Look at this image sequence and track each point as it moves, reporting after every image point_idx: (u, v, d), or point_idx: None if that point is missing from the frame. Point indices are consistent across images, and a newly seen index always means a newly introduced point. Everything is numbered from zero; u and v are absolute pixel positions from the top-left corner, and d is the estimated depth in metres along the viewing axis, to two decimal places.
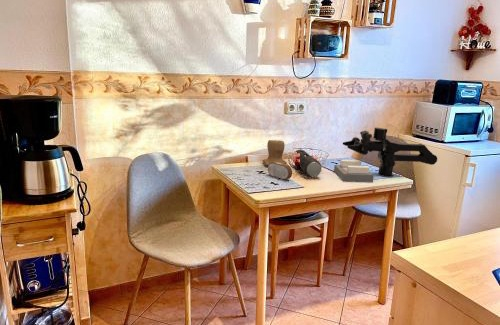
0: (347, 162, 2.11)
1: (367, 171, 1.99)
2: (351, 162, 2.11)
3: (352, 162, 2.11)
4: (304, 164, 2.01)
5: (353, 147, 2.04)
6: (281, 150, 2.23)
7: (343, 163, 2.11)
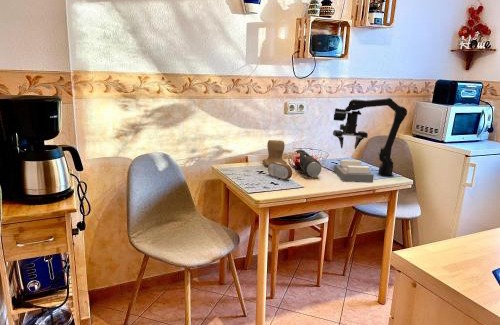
0: (347, 162, 2.11)
1: (367, 171, 1.99)
2: (351, 162, 2.11)
3: (352, 162, 2.11)
4: (304, 164, 2.01)
5: (340, 143, 2.16)
6: (281, 150, 2.23)
7: (343, 163, 2.11)
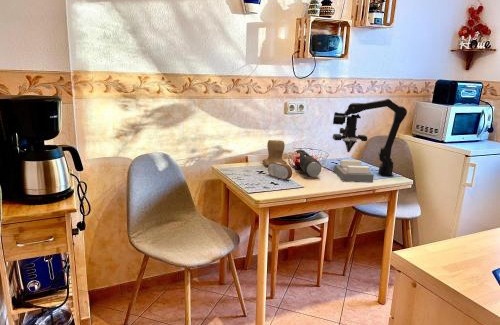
0: (347, 162, 2.11)
1: (367, 171, 1.99)
2: (351, 162, 2.11)
3: (352, 162, 2.11)
4: (304, 164, 2.01)
5: (346, 147, 2.17)
6: (281, 150, 2.23)
7: (343, 163, 2.11)
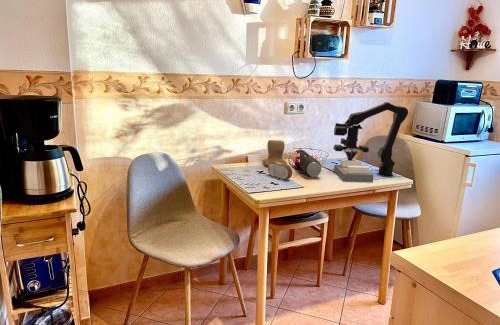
0: (347, 162, 2.10)
1: (367, 171, 1.99)
2: (351, 162, 2.10)
3: (352, 162, 2.10)
4: (304, 164, 2.01)
5: (347, 157, 2.14)
6: (281, 150, 2.23)
7: (343, 163, 2.10)
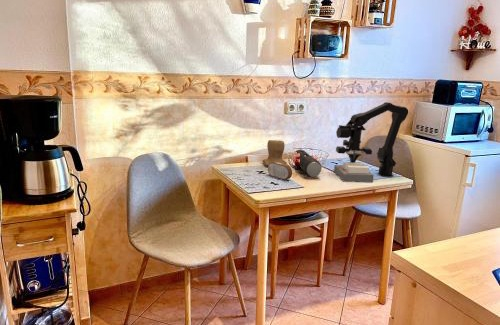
0: (350, 164, 2.06)
1: (367, 171, 1.99)
2: (354, 164, 2.06)
3: (355, 164, 2.06)
4: (304, 164, 2.01)
5: (350, 160, 2.09)
6: (281, 150, 2.23)
7: (346, 165, 2.06)
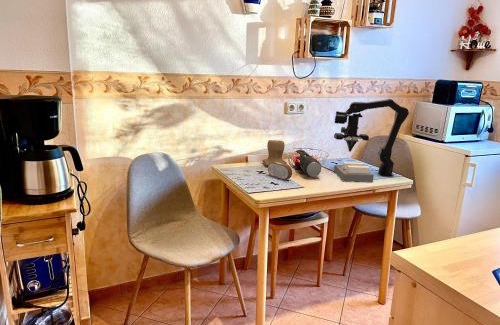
0: (350, 164, 2.06)
1: (367, 171, 1.99)
2: (354, 164, 2.06)
3: (355, 164, 2.06)
4: (304, 164, 2.01)
5: (348, 146, 2.15)
6: (281, 150, 2.23)
7: (346, 165, 2.06)
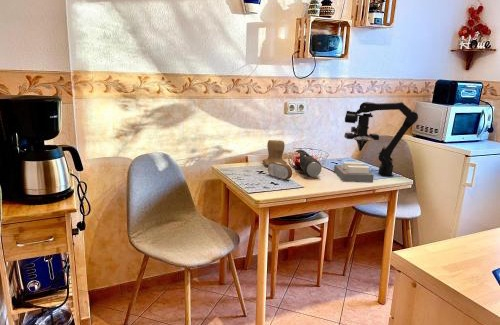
0: (350, 164, 2.06)
1: (367, 171, 1.99)
2: (354, 164, 2.06)
3: (355, 164, 2.06)
4: (304, 164, 2.01)
5: (358, 145, 2.17)
6: (281, 150, 2.23)
7: (346, 165, 2.06)
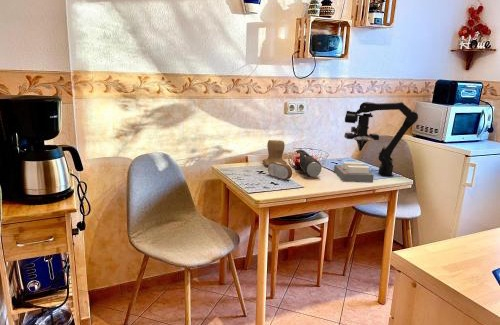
0: (350, 164, 2.06)
1: (367, 171, 1.99)
2: (354, 164, 2.06)
3: (355, 164, 2.06)
4: (304, 164, 2.01)
5: (358, 145, 2.17)
6: (281, 150, 2.23)
7: (346, 165, 2.06)
